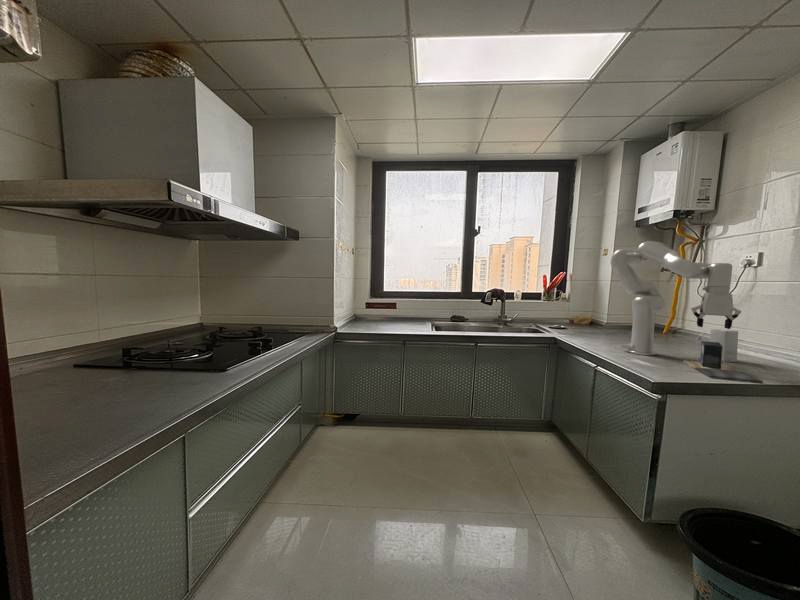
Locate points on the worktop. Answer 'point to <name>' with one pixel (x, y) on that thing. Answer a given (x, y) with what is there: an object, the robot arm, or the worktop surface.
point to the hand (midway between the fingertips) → (713, 327)
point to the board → (722, 372)
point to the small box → (711, 354)
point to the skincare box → (726, 343)
